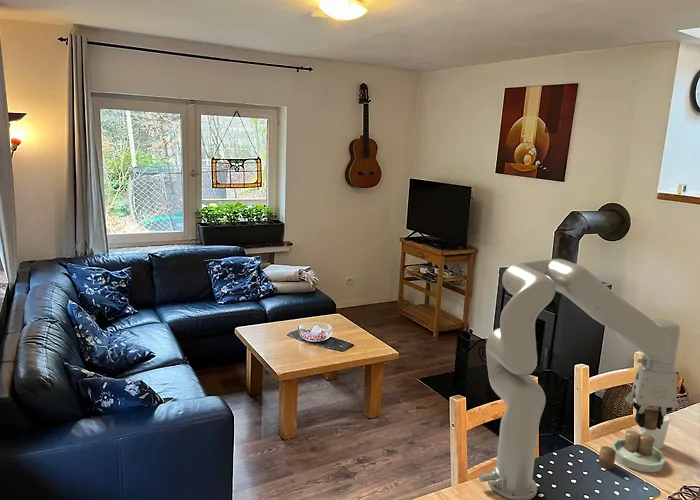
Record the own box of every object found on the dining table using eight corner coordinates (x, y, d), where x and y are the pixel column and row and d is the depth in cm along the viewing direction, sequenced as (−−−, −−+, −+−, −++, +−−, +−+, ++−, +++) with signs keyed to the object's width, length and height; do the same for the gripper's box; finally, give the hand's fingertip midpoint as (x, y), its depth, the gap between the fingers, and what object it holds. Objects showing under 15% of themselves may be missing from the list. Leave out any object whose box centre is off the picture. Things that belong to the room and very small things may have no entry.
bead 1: (605, 470, 152) (607, 454, 152) (595, 462, 156) (597, 446, 155) (616, 468, 154) (618, 453, 153) (606, 460, 157) (608, 445, 156)
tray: (635, 475, 151) (638, 456, 149) (600, 448, 164) (603, 430, 163) (674, 469, 154) (678, 450, 153) (637, 443, 168) (640, 426, 166)
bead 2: (643, 429, 146) (646, 412, 145) (637, 422, 150) (640, 405, 149) (658, 430, 146) (661, 414, 145) (652, 423, 150) (655, 407, 149)
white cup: (668, 452, 163) (673, 422, 161) (641, 448, 165) (645, 419, 163) (659, 439, 171) (664, 410, 169) (633, 435, 172) (637, 407, 170)
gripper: (631, 367, 142) (621, 429, 145) (697, 373, 140) (686, 436, 143) (620, 356, 149) (612, 416, 153) (683, 361, 147) (673, 422, 151)
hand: (648, 425), depth 148 cm, fingers closed on bead 2, 4 cm apart
